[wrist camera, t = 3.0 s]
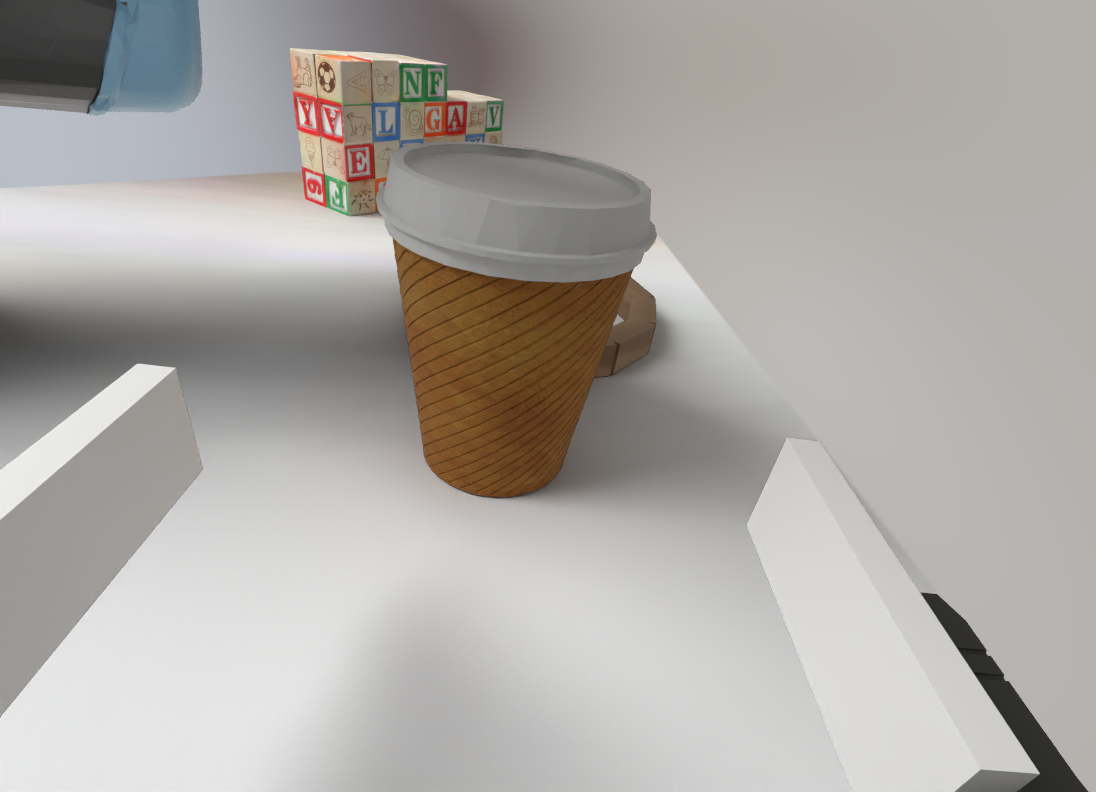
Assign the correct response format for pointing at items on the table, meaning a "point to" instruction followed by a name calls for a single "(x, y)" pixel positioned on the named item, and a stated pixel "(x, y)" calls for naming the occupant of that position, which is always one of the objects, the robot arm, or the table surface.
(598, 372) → the walnut bead ring
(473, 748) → the table surface
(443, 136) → the stack of blocks
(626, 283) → the disposable coffee cup
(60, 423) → the robot arm
